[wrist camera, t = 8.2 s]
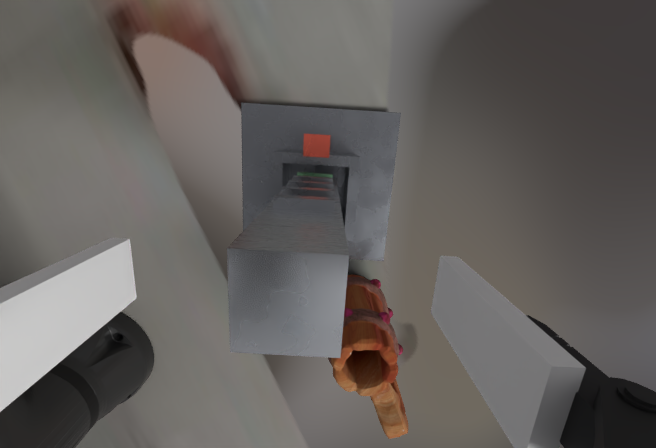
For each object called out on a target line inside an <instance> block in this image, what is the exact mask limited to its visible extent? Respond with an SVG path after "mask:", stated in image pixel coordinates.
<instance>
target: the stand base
mask: <svg viewBox="0 0 656 448" xmlns="http://www.w3.org/2000/svg"><path fill="white" fill-rule="evenodd" d="M241 111H242V181H243V231H244V230H245V229H246V228H247V226H248V225H249V224H250V223H251V222H252V221H253V220H254V219H255V218H256V217H257V216H258V215H259V214H260V213H261V212H262V211H263V209H264V208H265V207H266V206H267V205H268V204H269V203H270V202H271V201H272V200H273V196H274V195H275V194H279V193H280V191H281V190H282V187H283V186H286V185H287V184H288V181H289V180H292V179H293V176H294V175H297V172H312V173H328V174H333V177H332V178H333V179H336V181H337V187H338V193H339V199H340V204H341V210H342V216H343V222H344V228H345V234H346V239H347V245H348V251H349V259H360V260H377V261H383V259H384V251H385V243H386V234H387V226H388V217H389V209H390V200H391V192H392V183H393V175H394V166H395V158H396V149H397V141H398V132H399V124H400V115H401V113H392V112H378V111H362V110H347V109H332V108H316V107H301V106H285V105H270V104H254V103H241Z"/></svg>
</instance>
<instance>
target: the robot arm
mask: <svg viewBox="0 0 656 448" xmlns="http://www.w3.org/2000/svg"><path fill="white" fill-rule="evenodd" d="M136 298H137V297H136V289H135V280H134V271H133V263H132V254H131V245H130V239H124V238H110V239H107V240H105V241H103V242H101V243H99V244H96V245H94V246H92V247H90V248H87V249H85V250H83V251H81V252H79V253H76V254H74V255H72V256H70V257H68V258H65V259H63V260H61V261H59V262H57V263H54V264H52V265H50V266H48V267H45V268H43V269H41V270H39V271H37V272H34V273H32V274H30V275H28V276H26V277H23V278H21V279H19V280H17V281H15V282H12V283H10V284H8V285H6V286H3V287H1V288H0V448H75V447H76V446H77V445H78V444H79V442H80V441H81V440H82V439H83V437H84V436H85V435H86V434H87V432H88V431H89V430H90V429H91V428H92V427H93V425H94V424H95V423H96V422H97V421H98V420H100V419H101V418H102V417H104V416H105V415H106V414H108V413H109V412H110V411H112V410H113V409H114V408H115V407H116V406H117V405H118V404H121V403H123V402H125V401H126V400H128V399H129V398H131V397H132V396H133V395H134V394H135V393H136V392H137V391H138V390H139V389H140V388H141V386H142V385H143V384H144V383H145V381H146V380H147V379H148V377H149V376H150V374H151V371H152V369H153V364H154V353H153V349H152V345H151V343H150V341H149V339H148V337H147V335H146V334H145V333H144V331H143V330H142V329H141V328H140V327H139V326H138V325H137V324H136V323H135V322H134V321H133V320H131V319H130V318H129V317H127V316H125V315H124V314H122V313H120V312H121V311H122V310H123V309H124V308H125V307H127V306H128V305H129V304H130V303H131V302H133V301H134V300H135V299H136ZM431 314H432V316H433V317H434V319H435V320H436V322H437V324H438V325H439V327H440V329H441V330H442V332H443V333H444V335H445V337H446V338H447V340H448V342H449V343H450V345H451V346H452V348H453V350H454V351H455V353H456V355H457V356H458V358H459V359H460V361H461V363H462V364H463V366H464V367H465V369H466V371H467V372H468V374H469V376H470V377H471V379H472V381H473V382H474V384H475V385H476V387H477V389H478V390H479V392H480V394H481V395H482V397H483V398H484V400H485V402H486V403H487V405H488V407H489V408H490V410H491V411H492V413H493V415H494V416H495V418H496V420H497V421H498V423H499V424H500V426H501V428H502V429H503V431H504V432H505V434H506V436H507V437H508V439H509V441H510V442H511V444H512V445H513V447H514V448H559V447H560V444H562V445H563V446H564V448H656V392H654V391H653V390H650V389H648V388H646V387H644V386H642V385H639V384H637V383H634V382H631V381H627V380H625V379H620V378H612V377H610V378H609V377H608V376H607V375H605V374H604V373H603V372H602V371H601V370H599V369H598V368H597V367H596V366H594V365H593V364H592V363H591V362H590V361H588V360H587V359H586V358H585V357H584V356H583V355H581V354H580V353H579V352H578V351H577V350H575V349H574V348H573V347H570V345H569V344H568V343H567V342H566V341H565V340H563V339H562V338H559V335H557V334H556V333H555V332H554V331H553V330H551V329H550V328H549V327H548V326H547V325H545V324H543V323H541V322H540V321H538V320H536V319H534V318H532V317H531V316H529V315H528V316H527V315H525V314H523V313H522V312H521V311H520V310H519V309H517V308H516V307H515V306H514V305H513V304H512V303H511V302H510V301H508V300H507V299H506V298H505V297H504V296H502V295H501V294H500V293H499V292H498V291H497V290H496V289H495V288H493V287H492V286H491V285H490V284H489V283H488V282H487V281H485V280H484V279H483V278H482V277H481V276H480V275H478V274H477V273H476V272H475V271H474V270H473V269H472V268H470V267H469V266H468V265H467V264H466V263H465V262H463V261H462V260H461V259H460V258H459V257H455V256H454V257H453V256H440V261H439V267H438V273H437V279H436V285H435V290H434V296H433V303H432V308H431Z"/></svg>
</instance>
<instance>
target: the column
mask: <svg viewBox="0 0 656 448" xmlns="http://www.w3.org/2000/svg"><path fill="white" fill-rule="evenodd" d="M332 177H333V174H328V173H312V172H297V175H294V176H293V179H292V180H289V181H288V184H287V185H286V186H283V187H282V190H281V191H280V193H279V194H275V195H274V196H273V200H272V201H271V202H270V203H269V204H268V205H267V206H266V207H265V208H264V209H263V211H262V212H261V213H260V214H259V215H258V216H257V217H256V218H255V219H254V220H253V221H252V222H251V223H250V224H249V225H248V226H247V228H246V229H245V230H244V231H243V232H242V233H241V234H240V235H239V236H238V237H237V238H236V239H235V240H234V241H233V242H232V244H230V246H229V247H228V248H227V261H228V295H229V329H230V352H239V353H257V354H276V355H293V356H312V357H330V358H340V357H341V345H342V334H343V322H344V310H345V299H346V287H347V275H348V264H349V251H348V245H347V239H346V234H345V228H344V222H343V216H342V210H341V204H340V199H339V193H338V187H337V181H336V179H333V178H332Z"/></svg>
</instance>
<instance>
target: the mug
mask: <svg viewBox="0 0 656 448" xmlns="http://www.w3.org/2000/svg"><path fill="white" fill-rule="evenodd" d="M380 286H381V283H380V281H379V280H377V279H373V280H368V279H365V278H364V277H363V276H359V275H347V287H346V299H345V310H344V322H343V334H342V345H341V357H340V358H330V357H328V359H329V361H330V363H331V365H332V366H333V376H334V378H335V379H336V381H337V383H338V384H339V385H340V386H341V387H342V388H343V389H344V390H345V391H348V392H351V391H356V392H357V393H358V394H359V395H361V396H370V397H371V400H372V401H373V403H374V406H375V409H376V412H377V415H378V418H379V421H380V423H381V425H382V428H383V430H384V432H385V434H386V435H387V437H388V438H395V437H400V436H401V435H404V434H406V433H408V421H407V417H406V414H405V408H404V404H403V401H402V398H401V394H400V391H399V388H398V385H397V382H396V379H395V378H396V376H397V373H398V366H397V357H398V355H400V354H401V353H402V352H403V348H402V346H401V345H400V344H398V341H397V338H396V335H395V332H394V329H393V327H392V325H391V324H390V318H391V317H392V315H393V312H392V310H391V309H390V308H388V307H387V303H386V300H385V297H384V294H383V293H382V291H381V289H380Z"/></svg>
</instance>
